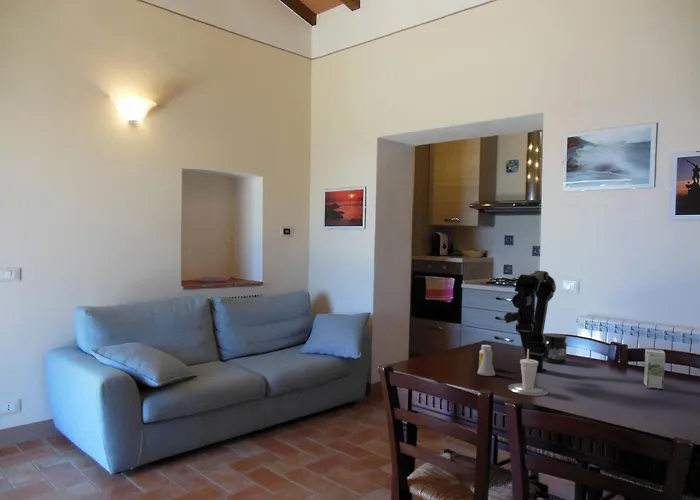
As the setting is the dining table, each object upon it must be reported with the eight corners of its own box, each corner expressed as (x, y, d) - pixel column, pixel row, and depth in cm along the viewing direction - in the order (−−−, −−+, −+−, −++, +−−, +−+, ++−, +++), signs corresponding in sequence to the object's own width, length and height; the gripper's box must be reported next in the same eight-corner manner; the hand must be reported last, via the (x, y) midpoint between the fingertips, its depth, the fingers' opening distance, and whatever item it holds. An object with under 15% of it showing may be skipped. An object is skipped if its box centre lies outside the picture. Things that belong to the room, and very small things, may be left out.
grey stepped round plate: (521, 382, 197) (521, 379, 197) (555, 391, 187) (555, 389, 187) (500, 388, 188) (500, 385, 188) (535, 398, 178) (535, 395, 178)
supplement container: (544, 357, 243) (546, 332, 243) (568, 361, 237) (569, 335, 237) (538, 361, 235) (539, 335, 234) (562, 365, 228) (564, 338, 228)
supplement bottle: (491, 370, 214) (492, 347, 214) (477, 368, 216) (479, 346, 216) (492, 367, 219) (493, 345, 219) (479, 366, 221) (480, 343, 221)
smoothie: (518, 384, 191) (519, 346, 191) (536, 385, 190) (537, 348, 190) (519, 388, 185) (521, 350, 185) (538, 390, 184) (540, 351, 184)
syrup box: (659, 386, 200) (661, 349, 199) (663, 390, 194) (665, 352, 194) (643, 384, 202) (645, 347, 201) (646, 388, 196) (648, 350, 196)
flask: (496, 377, 204) (497, 352, 204) (477, 375, 205) (478, 350, 205) (494, 372, 211) (495, 348, 211) (476, 371, 212) (477, 347, 212)
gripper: (509, 302, 215) (507, 339, 216) (502, 307, 198) (500, 347, 199) (537, 304, 211) (535, 342, 211) (533, 309, 194) (531, 350, 194)
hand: (525, 345), depth 204 cm, fingers open, 9 cm apart
